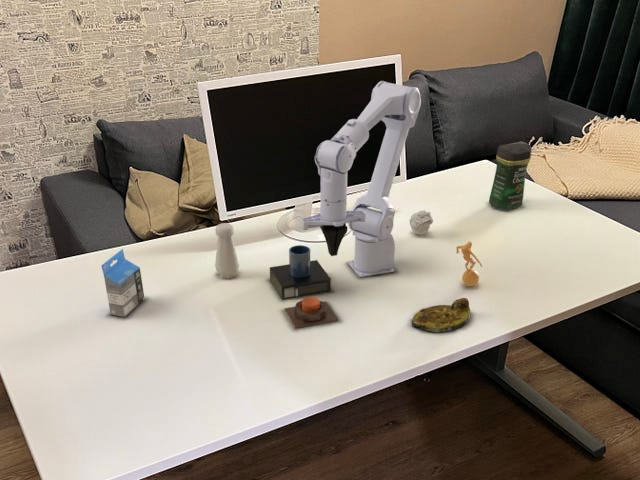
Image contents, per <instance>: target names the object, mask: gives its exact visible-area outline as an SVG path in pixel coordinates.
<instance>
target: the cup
mask: <svg viewBox="0 0 640 480" xmlns="http://www.w3.org/2000/svg"><path fill="white" fill-rule="evenodd" d="M310 261H311V248H310V247H308V246H306V245H301V244H300V245H299V244H298V245H293V246H291V247H290V248H289V249H288V264H289V271H290V275H291V276H293V277H296V278H303V277H307V276H309V275H310Z"/></svg>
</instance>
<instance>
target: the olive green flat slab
mask: <svg viewBox="0 0 640 480" xmlns="http://www.w3.org/2000/svg"><path fill="white" fill-rule="evenodd" d="M470 318H471V307H470V300H469V299H468V298H467V297H460V298H457V299H455V300H453V302H452V304H451V305H450V304H438V305H433V306H432V305H431V306H428V307H425V308H421V309H419V311H417V312H416V313H415V314H414V316H413V317H412V319H411V326H412V327H416V328H419V329H422V330H423V331H426V332H430V333H445V332H449V331H450V332H451V331H453V330H455V329H457V328H460V327H462V326H464V325H466V324H467V323H468V322H469V320H470Z"/></svg>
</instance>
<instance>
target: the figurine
mask: <svg viewBox="0 0 640 480" xmlns="http://www.w3.org/2000/svg"><path fill="white" fill-rule="evenodd" d="M472 246H473V242H472V241H468V242H466V244H464V245H457V246H456V254H460V250H461V253H462V255H463V256H462V258H463V260H464V261H466V262H465V264H464V266H465V271H464V272H463V274H462V277H461V280H462V283H463V284H464V285H465V286H467V287H473V286H476V285H477V284H478V282H479V280H480V275H479V273H478V272H477V271H476V270H475V269H473V268H474V267H475V265H476V262H477V263H478V264H479V265H480V268H482V267H483V265H482V263H481V261H480V259H478V257H477V256H476V254H475V253H474V252H473V250H472ZM459 249H460V250H459ZM471 256H472V257H471ZM473 258H474V259H475V260H476V261H474V259H473ZM470 264H471V265H470ZM468 266H469V267H468Z"/></svg>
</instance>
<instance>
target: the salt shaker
mask: <svg viewBox="0 0 640 480" xmlns="http://www.w3.org/2000/svg"><path fill="white" fill-rule="evenodd" d="M214 228H215V229H214V231H215V235H216V236H217V244H216V254H215V263H214V267H215V269H216V271H217V273H218V275H219V276H220V277H221V278H222V279H231V278H233V277H236V276H237V273H238V271H239V269H240V262H239V260H238V259H239V258H238V255H237V252H236V247H235V244H234V240H233V235H234V234H235V229H234V226H233V225H232V224H230V223H228V222H221V223H219V224H217V225H216V226H215V227H214Z"/></svg>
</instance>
